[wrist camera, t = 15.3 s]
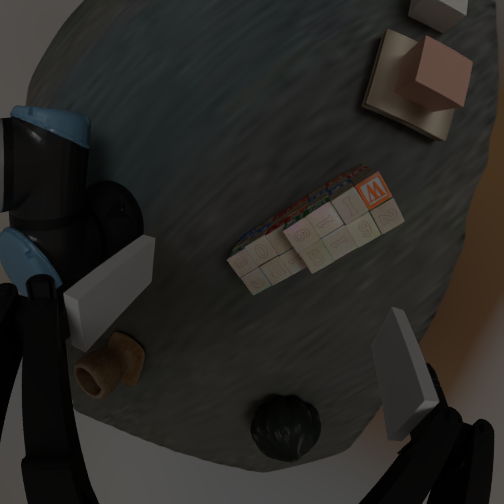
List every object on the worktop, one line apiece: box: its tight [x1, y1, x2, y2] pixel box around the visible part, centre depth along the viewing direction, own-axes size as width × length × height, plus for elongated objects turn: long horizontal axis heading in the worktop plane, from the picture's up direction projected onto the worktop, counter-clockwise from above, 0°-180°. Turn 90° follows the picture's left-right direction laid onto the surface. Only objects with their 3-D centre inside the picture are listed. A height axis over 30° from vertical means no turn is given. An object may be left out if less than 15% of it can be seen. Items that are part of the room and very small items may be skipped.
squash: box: [251, 396, 321, 462], centre depth 54 cm, size 14×15×15 cm
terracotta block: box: [394, 35, 473, 112], centre depth 25 cm, size 6×6×9 cm
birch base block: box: [361, 29, 455, 141], centre depth 31 cm, size 12×12×4 cm
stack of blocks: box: [227, 164, 404, 295], centre depth 38 cm, size 21×6×12 cm, turn 126°
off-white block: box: [408, 0, 468, 33], centre depth 23 cm, size 6×6×9 cm
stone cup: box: [74, 332, 145, 399], centre depth 57 cm, size 15×12×15 cm
